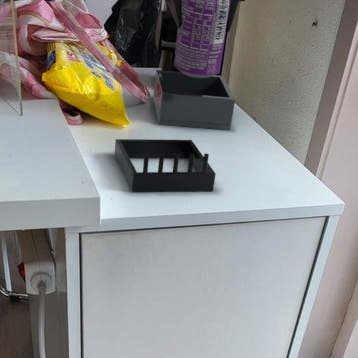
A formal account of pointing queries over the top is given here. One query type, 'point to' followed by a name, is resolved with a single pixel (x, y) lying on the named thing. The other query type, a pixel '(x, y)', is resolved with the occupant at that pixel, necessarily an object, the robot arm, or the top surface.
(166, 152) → the dish rack
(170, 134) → the top surface
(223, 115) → the grey storage bin
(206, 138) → the top surface
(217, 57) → the beverage can
